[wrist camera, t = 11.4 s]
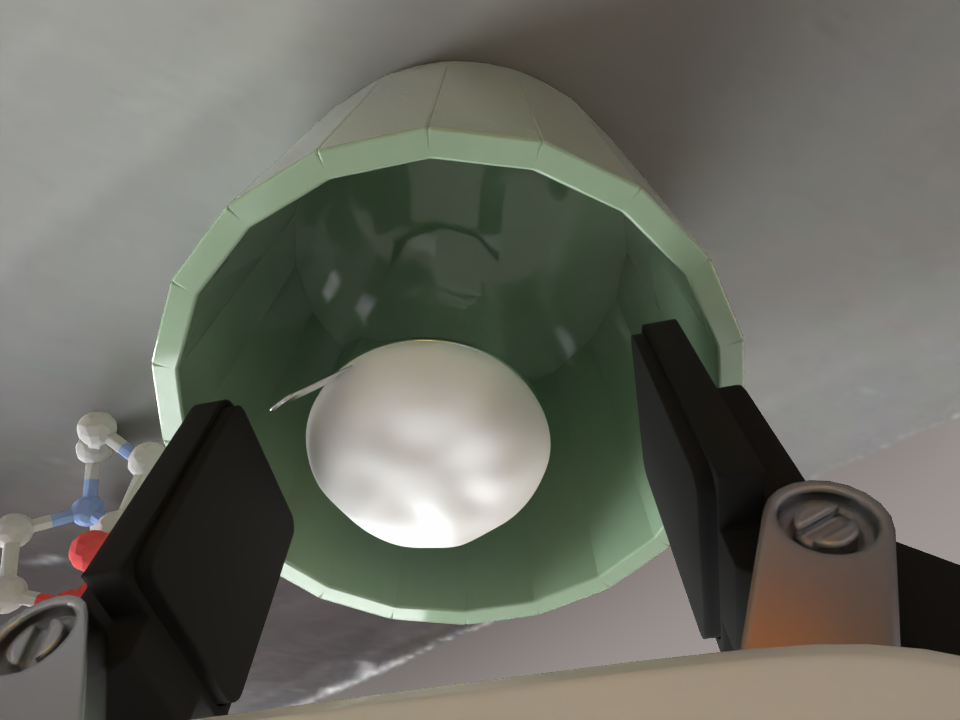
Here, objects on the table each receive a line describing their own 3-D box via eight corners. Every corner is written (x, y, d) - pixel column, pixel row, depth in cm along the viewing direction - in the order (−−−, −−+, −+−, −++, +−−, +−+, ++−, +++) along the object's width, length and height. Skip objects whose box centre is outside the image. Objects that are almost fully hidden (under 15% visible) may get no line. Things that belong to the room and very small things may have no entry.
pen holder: (229, 106, 18) (34, 209, 10) (618, 20, 17) (743, 58, 9) (345, 420, 23) (276, 652, 15) (649, 367, 22) (746, 586, 14)
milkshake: (436, 144, 18) (396, 313, 9) (554, 290, 20) (614, 540, 11) (314, 247, 19) (178, 478, 10) (436, 372, 21) (409, 652, 12)
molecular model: (18, 469, 24) (-153, 654, 17) (157, 343, 21) (18, 502, 15) (183, 579, 26) (89, 773, 20) (323, 479, 24) (267, 663, 18)
